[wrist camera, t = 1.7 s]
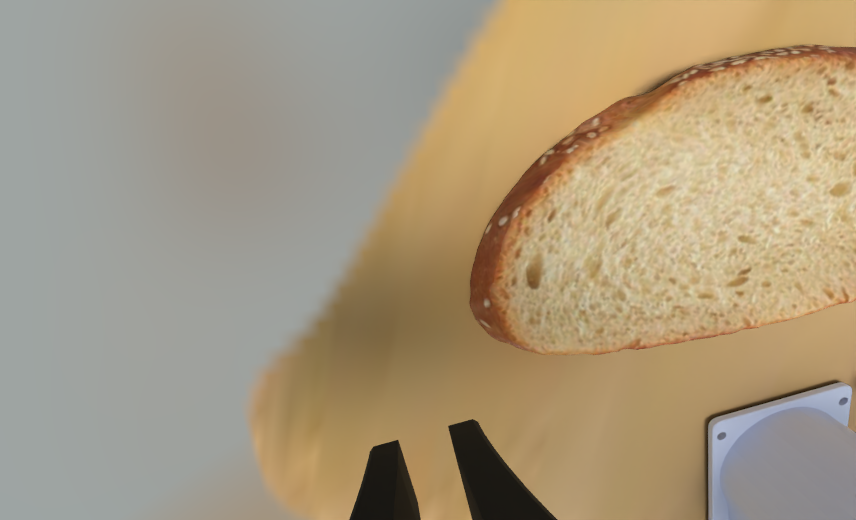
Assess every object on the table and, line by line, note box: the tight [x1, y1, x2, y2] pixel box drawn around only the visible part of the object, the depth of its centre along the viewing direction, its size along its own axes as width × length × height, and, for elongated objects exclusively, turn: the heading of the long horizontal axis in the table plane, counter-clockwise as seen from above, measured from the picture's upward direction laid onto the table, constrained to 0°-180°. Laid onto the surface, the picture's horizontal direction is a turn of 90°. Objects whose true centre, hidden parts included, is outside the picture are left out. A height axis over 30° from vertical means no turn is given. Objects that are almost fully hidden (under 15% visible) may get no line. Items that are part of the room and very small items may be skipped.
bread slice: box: [470, 45, 856, 355], centre depth 19 cm, size 18×18×4 cm
